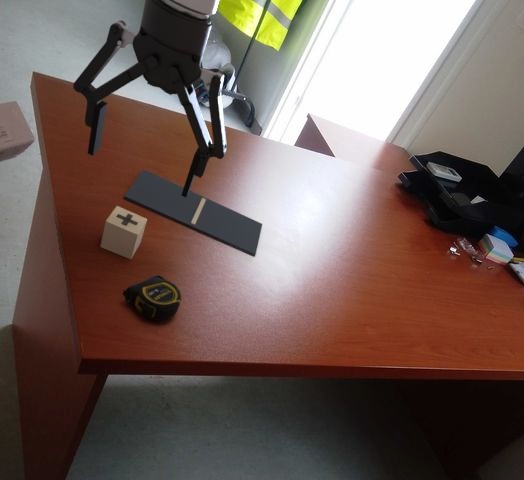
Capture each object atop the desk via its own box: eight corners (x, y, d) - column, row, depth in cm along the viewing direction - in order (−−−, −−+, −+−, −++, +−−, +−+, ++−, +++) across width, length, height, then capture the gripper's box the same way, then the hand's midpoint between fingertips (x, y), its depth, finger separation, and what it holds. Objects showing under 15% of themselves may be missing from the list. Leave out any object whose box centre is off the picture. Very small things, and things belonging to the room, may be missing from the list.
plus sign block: (100, 247, 71) (105, 220, 68) (111, 231, 75) (117, 205, 72) (130, 259, 73) (138, 234, 69) (140, 243, 76) (147, 218, 73)
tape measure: (154, 286, 71) (160, 268, 68) (185, 314, 70) (192, 297, 67) (119, 301, 66) (125, 282, 63) (152, 332, 65) (159, 313, 62)
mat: (123, 198, 82) (124, 195, 82) (143, 171, 91) (143, 168, 90) (254, 256, 88) (255, 253, 87) (261, 226, 96) (262, 223, 96)
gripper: (54, -56, 46) (40, 142, 60) (279, 64, 51) (217, 221, 65) (84, -59, 51) (64, 123, 65) (285, 50, 56) (226, 197, 70)
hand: (140, 172), depth 65 cm, fingers open, 13 cm apart
